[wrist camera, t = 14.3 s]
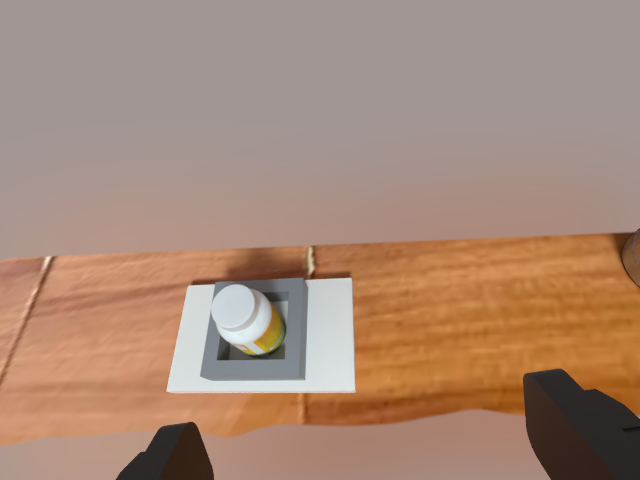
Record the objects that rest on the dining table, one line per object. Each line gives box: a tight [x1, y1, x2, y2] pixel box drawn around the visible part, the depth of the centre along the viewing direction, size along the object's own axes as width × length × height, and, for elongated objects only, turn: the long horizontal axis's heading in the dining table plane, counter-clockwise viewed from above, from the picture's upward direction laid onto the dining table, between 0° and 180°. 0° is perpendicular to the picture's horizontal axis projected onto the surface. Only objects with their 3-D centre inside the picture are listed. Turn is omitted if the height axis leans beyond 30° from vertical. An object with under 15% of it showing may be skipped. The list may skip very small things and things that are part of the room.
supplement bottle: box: [211, 284, 286, 358], centre depth 36 cm, size 5×5×10 cm
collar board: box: [167, 278, 356, 393], centre depth 39 cm, size 20×12×4 cm, turn 89°
